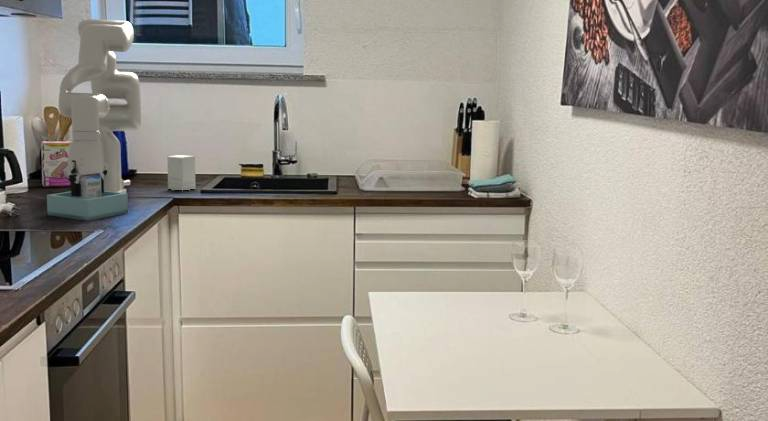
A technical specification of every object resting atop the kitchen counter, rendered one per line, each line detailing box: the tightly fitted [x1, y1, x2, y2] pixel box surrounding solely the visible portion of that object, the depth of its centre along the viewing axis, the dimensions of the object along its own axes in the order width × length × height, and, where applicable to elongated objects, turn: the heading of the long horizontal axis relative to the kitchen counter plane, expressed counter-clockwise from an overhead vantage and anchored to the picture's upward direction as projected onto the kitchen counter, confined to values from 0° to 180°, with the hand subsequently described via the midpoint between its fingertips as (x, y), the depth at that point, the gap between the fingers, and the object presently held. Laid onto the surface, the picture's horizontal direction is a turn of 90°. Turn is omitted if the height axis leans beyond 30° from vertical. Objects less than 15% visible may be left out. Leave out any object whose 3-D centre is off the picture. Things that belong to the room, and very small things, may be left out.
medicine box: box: [74, 174, 102, 199], centre depth 227 cm, size 8×4×9 cm, turn 168°
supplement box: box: [167, 154, 196, 192], centre depth 280 cm, size 7×7×13 cm
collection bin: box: [46, 190, 129, 222], centre depth 227 cm, size 16×16×6 cm
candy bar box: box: [40, 140, 71, 188], centre depth 279 cm, size 11×5×16 cm, turn 121°
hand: (87, 194), depth 227 cm, fingers closed on medicine box, 8 cm apart
